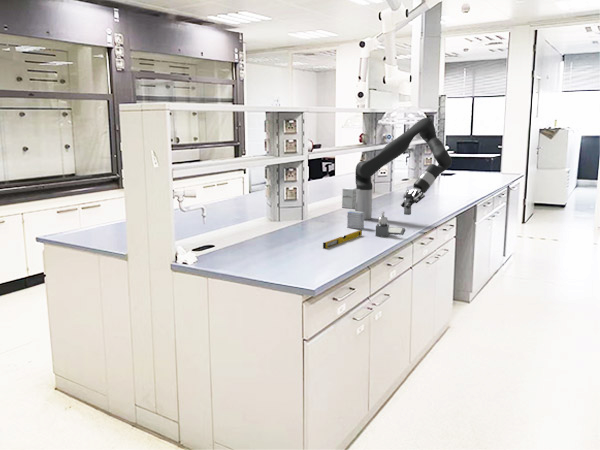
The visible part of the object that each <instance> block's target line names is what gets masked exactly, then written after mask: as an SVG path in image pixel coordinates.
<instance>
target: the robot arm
mask: <svg viewBox="0 0 600 450" xmlns="http://www.w3.org/2000/svg"><path fill="white" fill-rule="evenodd" d="M436 132H437V131H436V128H435V125H434V123H433V120H432V118H431V117H424V118H421V119H420V120H418V121H417V122H416V123H414V124H413V125H412V126H411V127H409V129H407V130H406V131H405V132H404V133H402V134H400V135H399V136H398V137H397V138H396V137H395V138H394V139H393V140H392V141H390V142H389V143H388V144H386V145H385V146H384V147H383V148H382V149H381V151H379V153H378V154H377V155H376V156H374V157H372V158H371V159H369V160H361V161H359V162H358V163H357V164H356V166H355V185H356V187H355V188H356V202H355V208H354V211H359V212H364V221H365V220H366V221H367V220H371V219H372V217H373V216H372V215H373V214H372V212H373V183H372V176H374V174H375V173H377V172H378V171H380V170H381V168H383V167H384V166H386V165H387V164H389V163H390V162H393V160H395V159H397V158H398V157H399V156H401V155H402V154H404V153H405V152H406V151H407V149H408V148H409V147H410V144H411V143H412V141H413V139H414V138H415V137H417V135H419V137H420V138H421V139H422V140H423V141H424V142H425V143H426V144H427V145H428V148H429V149H430V152H431V153H432V155H433V158H434V160H435V161H436V163H437V164H438V165H436V164H434V163H431V164H429V165H428V166H427V168H426V169H425V170H424V171H423V173H422V174H420V175H419V177H418V178H417V179H416V181H415V182H414V183H413V187H411V189H406V190H405V192H404V194H412V198H411V200H410V201H409V202H408V203H407V205H406V208H407V209H409V208H410V207H411V208H412V206H413V205H414V204H418V203H419V202H421V200H423V199H424V198H425V197H426V195H425V193H427V191H429V189H430V188H431V186H432V185H433V184H434V182H435V181H436V179H437V178H438V177H439V176H440V174H443V172H445V171H446V170H447V169H449V168H450V167H451V166H452V164H453V159H452V157H451V155H450V154H449V153H448V151H447V150H446V147H445V146H444V144H443V143H442V140H440V139H438V136H437V133H436ZM402 198H403V199H404V196H402ZM400 206H401V208H404V200H403V201H402V202H401V203H400Z"/></svg>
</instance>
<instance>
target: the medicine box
mask: <svg viewBox="0 0 600 450" xmlns="http://www.w3.org/2000/svg"><path fill="white" fill-rule="evenodd" d="M346 220H347V221H346V222H347V223H346V225H347V229H348V228H349V229H358V230H362V229H363V228H365V220H364V212H359V211H355V210H349V211H347V219H346Z"/></svg>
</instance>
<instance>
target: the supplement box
mask: <svg viewBox="0 0 600 450" xmlns="http://www.w3.org/2000/svg"><path fill="white" fill-rule="evenodd" d="M341 196H342V197H341V203H342V204H341V207H342V208H346V209H355V202H356V187H343V188H342V194H341Z"/></svg>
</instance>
